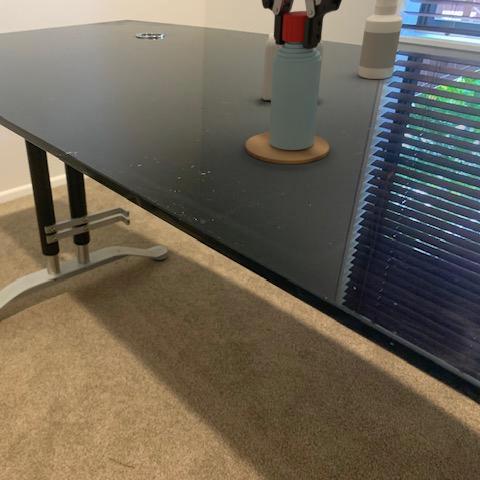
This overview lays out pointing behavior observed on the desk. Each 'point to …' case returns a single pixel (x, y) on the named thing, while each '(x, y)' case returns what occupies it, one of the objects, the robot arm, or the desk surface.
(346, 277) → the desk surface
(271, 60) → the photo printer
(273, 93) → the bottle
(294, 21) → the bottle cap
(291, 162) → the coaster
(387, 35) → the beige tall canister
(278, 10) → the robot arm
